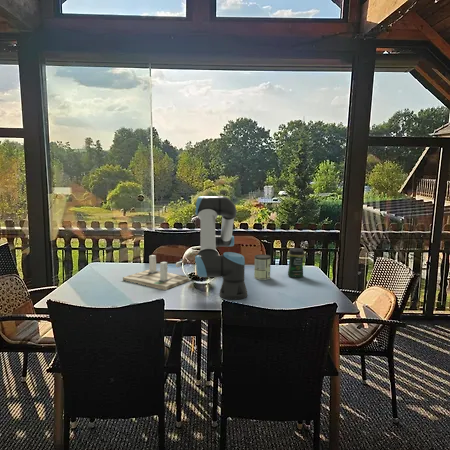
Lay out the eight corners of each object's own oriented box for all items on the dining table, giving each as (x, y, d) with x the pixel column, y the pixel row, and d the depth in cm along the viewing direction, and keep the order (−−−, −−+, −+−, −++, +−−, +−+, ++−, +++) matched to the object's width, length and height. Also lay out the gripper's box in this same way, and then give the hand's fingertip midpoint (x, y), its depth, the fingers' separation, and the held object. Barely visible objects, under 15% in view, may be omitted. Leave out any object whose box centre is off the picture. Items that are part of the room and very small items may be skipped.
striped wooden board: (165, 290, 227) (165, 286, 226) (122, 280, 245) (122, 277, 244) (191, 280, 247) (191, 276, 246) (150, 272, 265) (150, 269, 264)
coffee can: (254, 275, 260) (254, 254, 258) (270, 275, 259) (270, 254, 257) (253, 279, 250) (254, 257, 248) (270, 280, 249) (270, 258, 247)
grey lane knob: (152, 273, 252) (152, 256, 250) (147, 272, 254) (147, 255, 253) (157, 272, 256) (157, 255, 255) (153, 271, 258) (152, 254, 257)
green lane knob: (163, 282, 234) (163, 263, 233) (158, 281, 236) (158, 262, 235) (169, 280, 238) (169, 262, 237) (164, 279, 240) (163, 261, 239)
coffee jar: (289, 278, 254) (290, 249, 252) (287, 274, 262) (287, 247, 259) (304, 278, 255) (305, 249, 252) (301, 274, 262) (302, 247, 260)
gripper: (207, 264, 264) (185, 272, 244) (191, 262, 271) (168, 269, 251) (207, 253, 263) (185, 260, 243) (191, 251, 269) (168, 257, 250)
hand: (176, 265), depth 247 cm, fingers closed
